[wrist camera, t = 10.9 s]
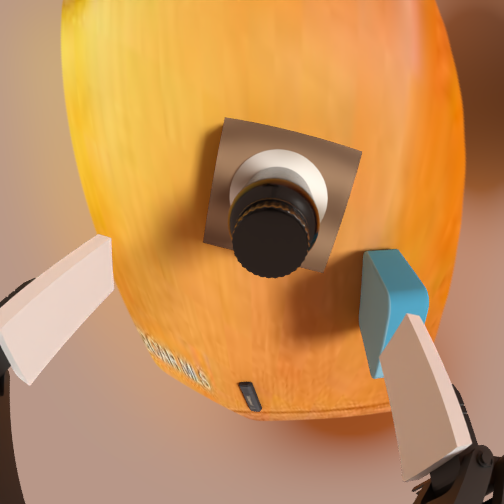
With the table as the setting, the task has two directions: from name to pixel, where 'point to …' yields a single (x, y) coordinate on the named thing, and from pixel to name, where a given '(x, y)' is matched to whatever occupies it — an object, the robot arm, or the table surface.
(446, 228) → the table surface
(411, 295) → the light-blue rounded block
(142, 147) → the table surface
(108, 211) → the table surface
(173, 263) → the table surface
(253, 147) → the base
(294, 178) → the supplement bottle
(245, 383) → the usb stick
